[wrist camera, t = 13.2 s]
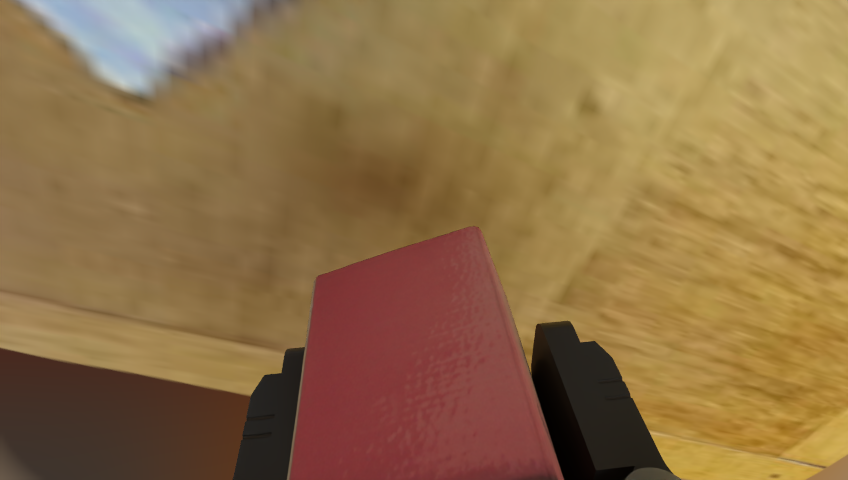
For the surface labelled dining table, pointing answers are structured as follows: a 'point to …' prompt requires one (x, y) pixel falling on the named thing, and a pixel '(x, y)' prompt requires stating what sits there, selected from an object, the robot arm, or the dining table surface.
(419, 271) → the small box
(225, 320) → the dining table surface
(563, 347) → the robot arm
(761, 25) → the dining table surface
